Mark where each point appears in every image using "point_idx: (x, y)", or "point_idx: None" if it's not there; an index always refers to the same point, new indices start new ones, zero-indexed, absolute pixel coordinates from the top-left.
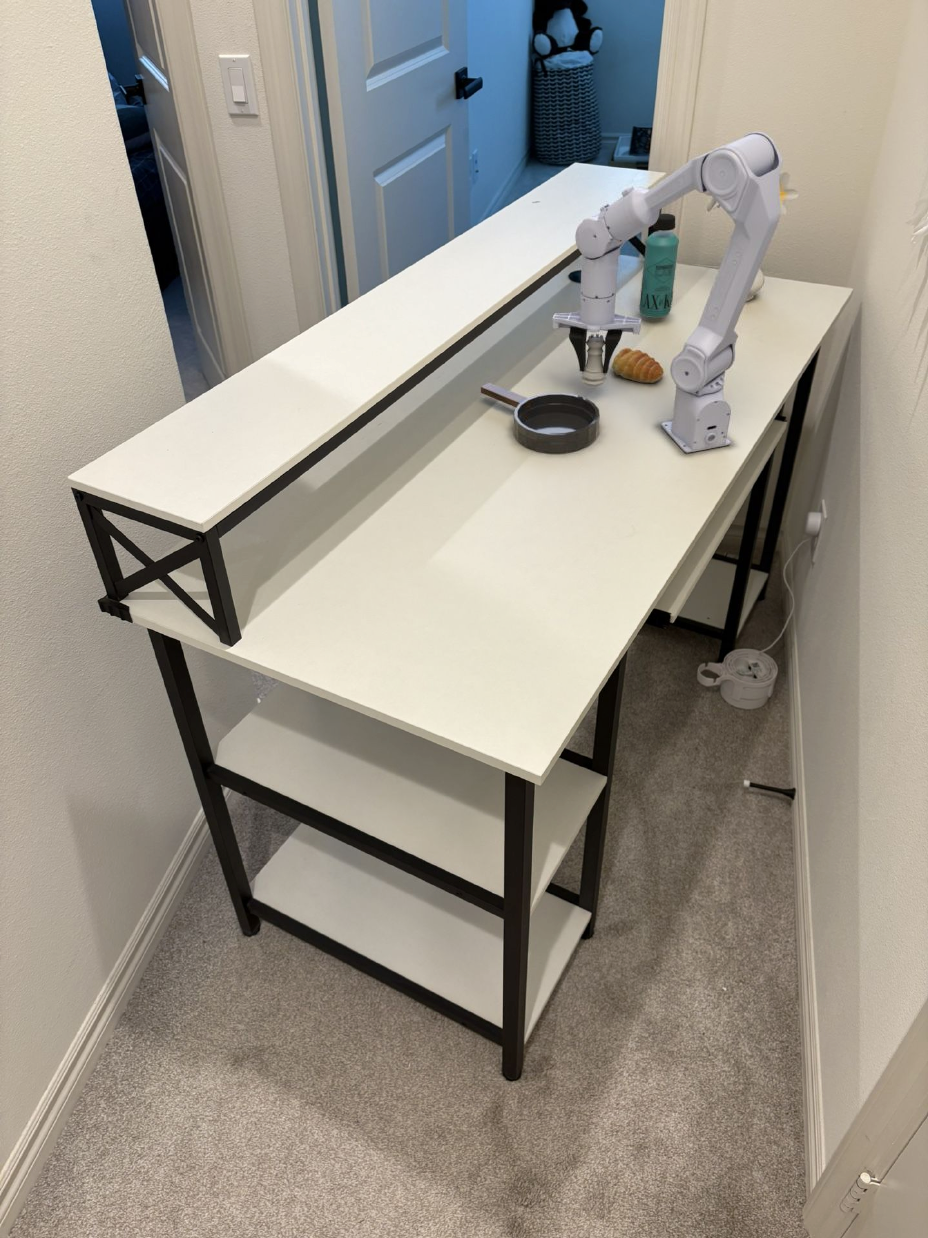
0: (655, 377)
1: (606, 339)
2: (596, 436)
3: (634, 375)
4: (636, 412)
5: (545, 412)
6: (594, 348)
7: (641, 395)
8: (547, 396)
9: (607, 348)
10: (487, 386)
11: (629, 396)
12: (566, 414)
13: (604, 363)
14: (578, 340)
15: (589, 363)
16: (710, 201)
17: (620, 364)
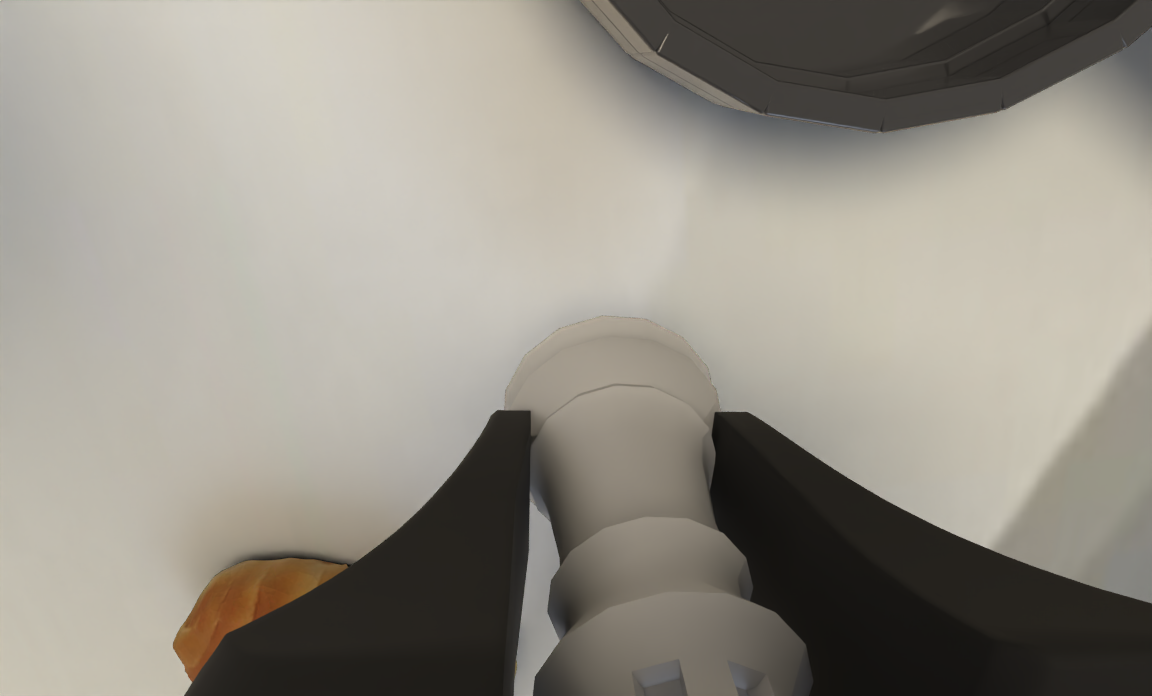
0: (215, 588)
1: (464, 674)
2: None
3: None
4: (249, 186)
5: (938, 43)
6: (674, 581)
7: (280, 421)
8: (1010, 65)
9: (467, 563)
10: None
11: (355, 398)
12: (771, 43)
13: (516, 449)
14: (1044, 617)
15: (683, 456)
16: None
17: None
